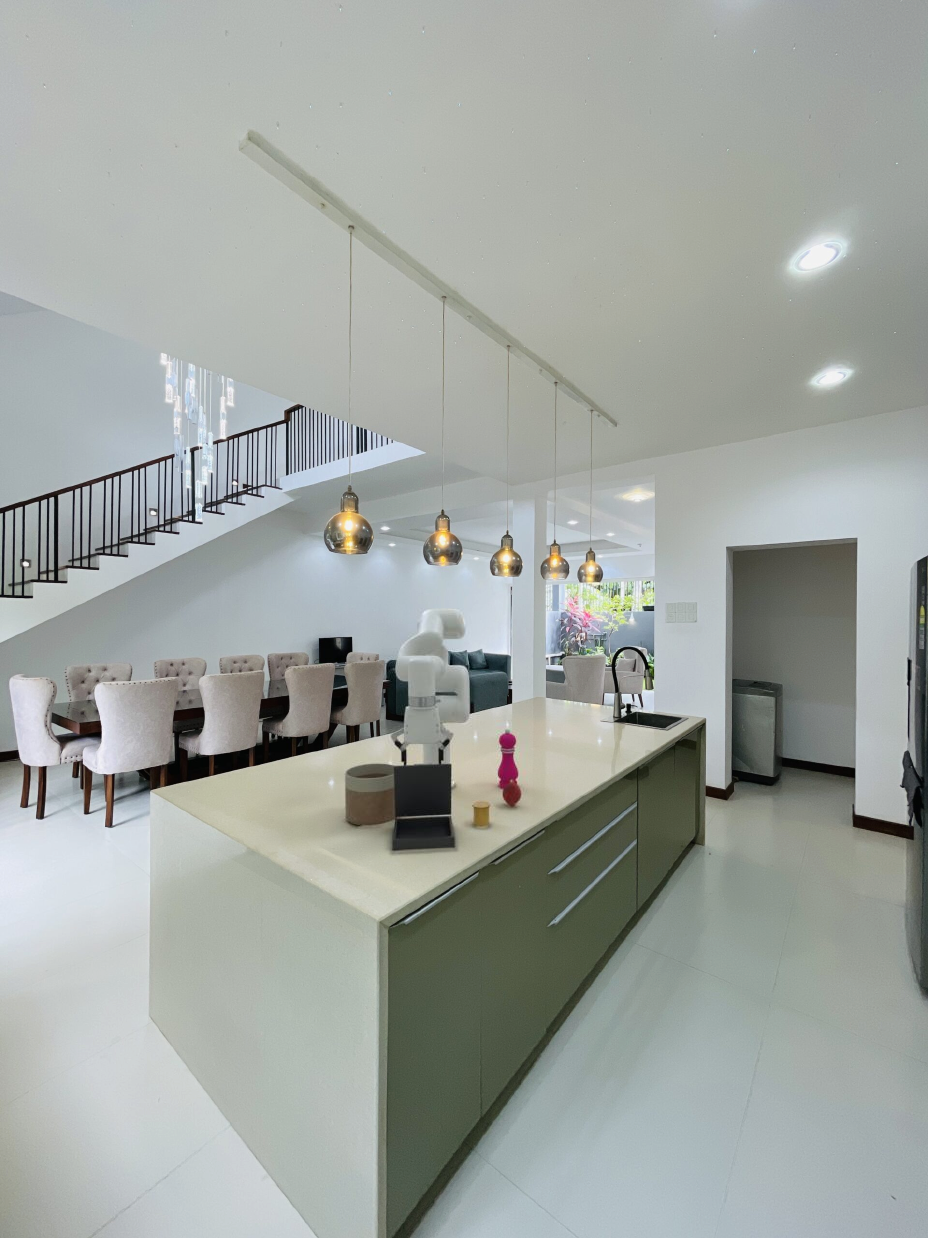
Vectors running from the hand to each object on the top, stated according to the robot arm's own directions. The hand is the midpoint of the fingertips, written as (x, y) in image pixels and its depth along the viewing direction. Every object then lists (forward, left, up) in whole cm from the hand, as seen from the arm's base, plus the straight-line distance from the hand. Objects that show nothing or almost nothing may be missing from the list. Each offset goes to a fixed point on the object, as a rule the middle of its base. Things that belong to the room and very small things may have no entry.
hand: (422, 764), depth 143 cm
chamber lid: (+1, -1, -7) cm, 7 cm away
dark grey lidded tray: (+5, -5, -18) cm, 19 cm away
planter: (-18, -3, -18) cm, 26 cm away
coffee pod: (+11, +12, -18) cm, 24 cm away
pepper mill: (-3, +45, -18) cm, 49 cm away
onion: (+9, +30, -18) cm, 36 cm away
